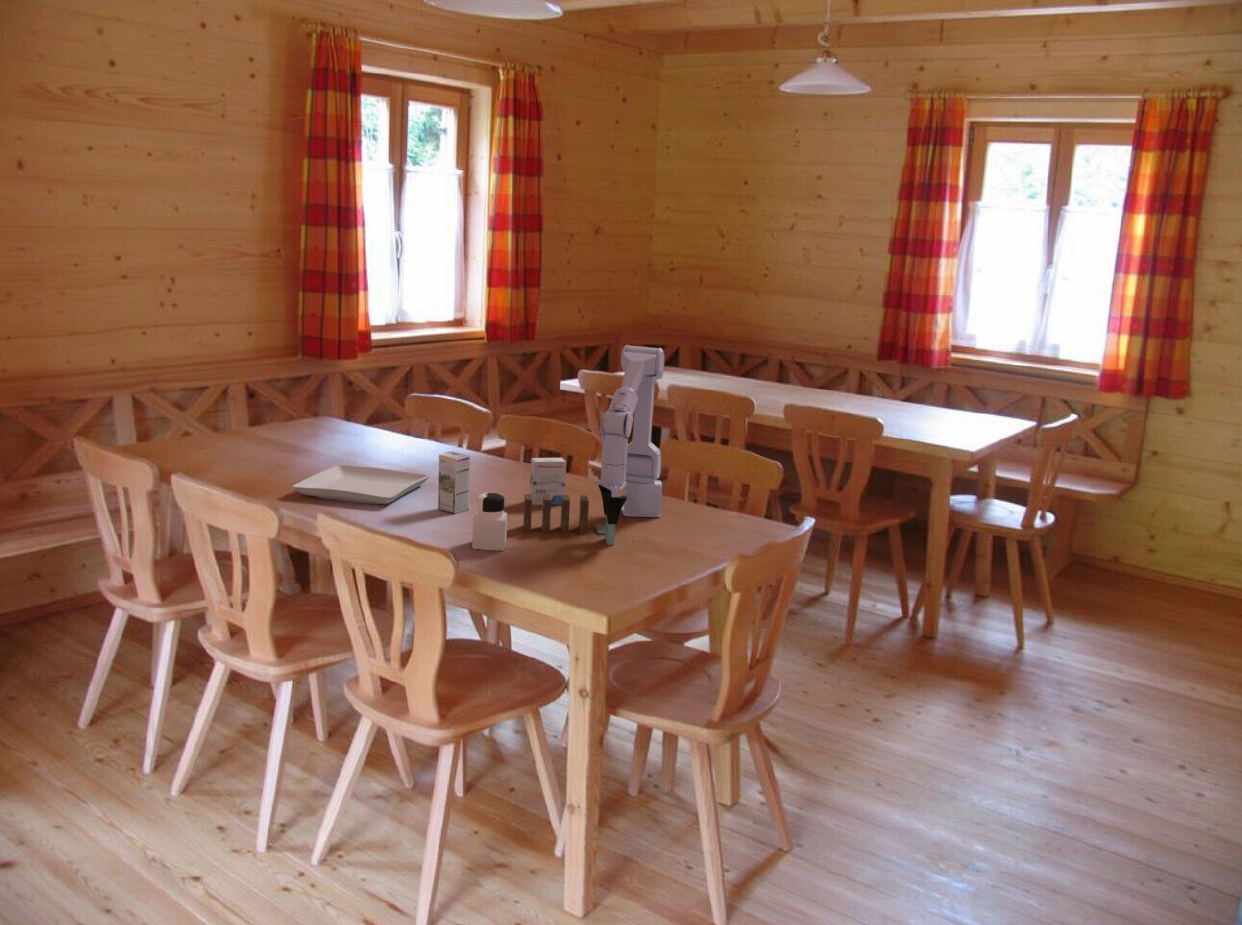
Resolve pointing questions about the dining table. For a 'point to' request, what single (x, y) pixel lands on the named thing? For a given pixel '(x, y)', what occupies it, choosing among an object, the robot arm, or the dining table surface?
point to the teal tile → (609, 533)
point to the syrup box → (453, 482)
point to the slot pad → (601, 529)
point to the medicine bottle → (490, 523)
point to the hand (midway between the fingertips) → (610, 519)
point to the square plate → (360, 484)
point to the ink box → (547, 479)
